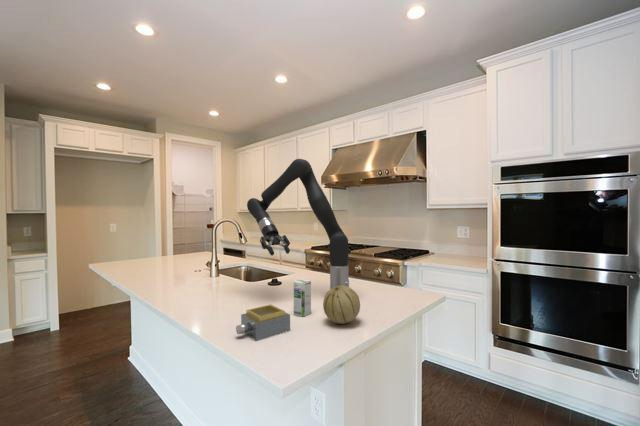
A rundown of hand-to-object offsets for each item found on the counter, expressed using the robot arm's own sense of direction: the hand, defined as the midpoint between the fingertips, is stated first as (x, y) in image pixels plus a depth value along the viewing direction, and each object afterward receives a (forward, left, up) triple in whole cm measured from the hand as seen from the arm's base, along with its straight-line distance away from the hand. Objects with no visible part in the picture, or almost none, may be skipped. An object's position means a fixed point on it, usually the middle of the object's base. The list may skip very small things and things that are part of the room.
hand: (280, 253), depth 144 cm
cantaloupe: (-31, +17, -25) cm, 43 cm away
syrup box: (-13, +10, -25) cm, 29 cm away
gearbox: (-2, +31, -25) cm, 40 cm away
